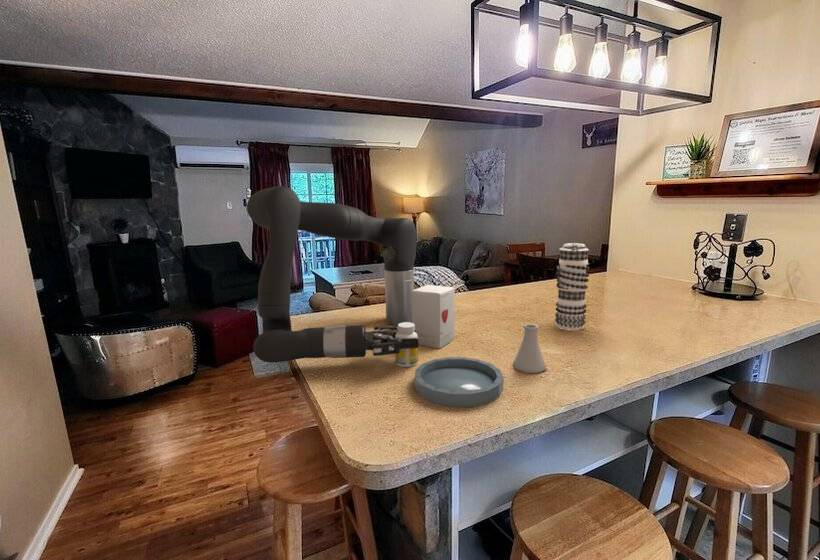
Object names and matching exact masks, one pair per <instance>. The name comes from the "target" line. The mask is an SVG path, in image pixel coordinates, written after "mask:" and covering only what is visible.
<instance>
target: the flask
mask: <svg viewBox="0 0 820 560" xmlns="http://www.w3.org/2000/svg"><path fill="white" fill-rule="evenodd" d="M522 326H523V328H524V330H523V331H524V332H523V333H524V334H523V339H522V342H521V344H520V347H519V348H518V351H517V353H516V356H515V357H514V360H513V362H512V365H513V367H514V368H515V370H518V371H520V372H523V373H525V374H536V373H537V374H539V373H542V372H543V371H544V372H545V371H546V370H547V365H546V363H545V361H544V357H543V354H542V351H541V349H540V348H541V347H540V344H539V341H538V330H539V328H540V327H539V326H538V325H537V324H534V323H526V324H523V325H522Z"/></svg>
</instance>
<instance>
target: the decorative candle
mask: <svg viewBox="0 0 820 560" xmlns="http://www.w3.org/2000/svg"><path fill="white" fill-rule="evenodd" d="M559 251H560V252H559V259H558V260H559V261H558V265H557V266H556V270H557V271H556V276H557V278H556V282H557V283H556V284H555V285H556V289H557V290H558V295H557V299H556V300H557V301H556V303H555V306H556V307H555V311H556V312H555V314H554V316H555V318H554V322H555V324H554V326H555V327H556V326H557V327H556V328H558V327H559V328H558V329H560V328H562V329H561V330H564V329H570V330H569V331H572V330H575V331H580V330H579V329H583V328H586V327H585V324H586V318H587V316H586V313H587V310H586V308H587V304H586V291H588V288H589V286H588V285H587V284H586V283H588V282H589V281H590V280H589V279H588V277H590V274H589V273H588V272H587V271H589V270H591V267H590V266H589V265H591V263H590V262H589V258H588V255H589V254H588V253H589V251H590V249H589V248H588V247H587V246H586V244H584V243H579V242H567V243H564V244H563V245H562V247H560V248H559ZM583 330H584V329H583Z"/></svg>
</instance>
